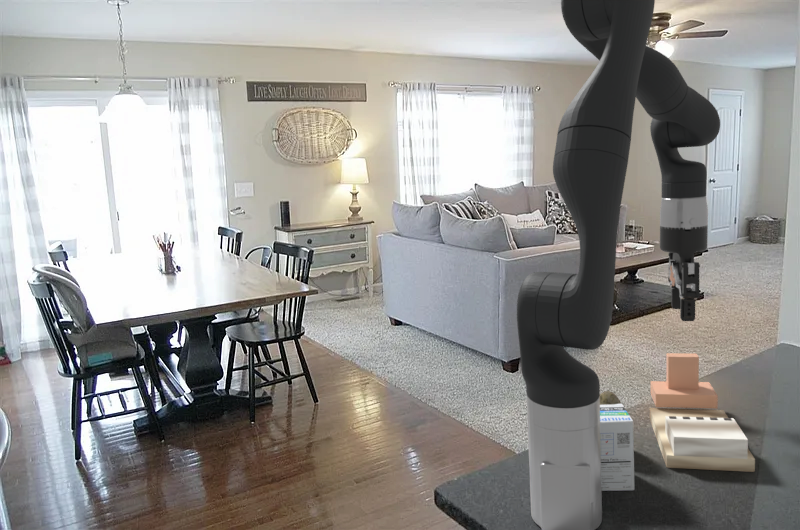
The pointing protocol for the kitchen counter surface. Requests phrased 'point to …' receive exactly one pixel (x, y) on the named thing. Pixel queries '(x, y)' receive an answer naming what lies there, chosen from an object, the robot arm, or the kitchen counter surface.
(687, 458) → the pad
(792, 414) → the kitchen counter surface
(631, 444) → the light bulb box
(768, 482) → the kitchen counter surface
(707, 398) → the stub
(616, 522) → the kitchen counter surface
